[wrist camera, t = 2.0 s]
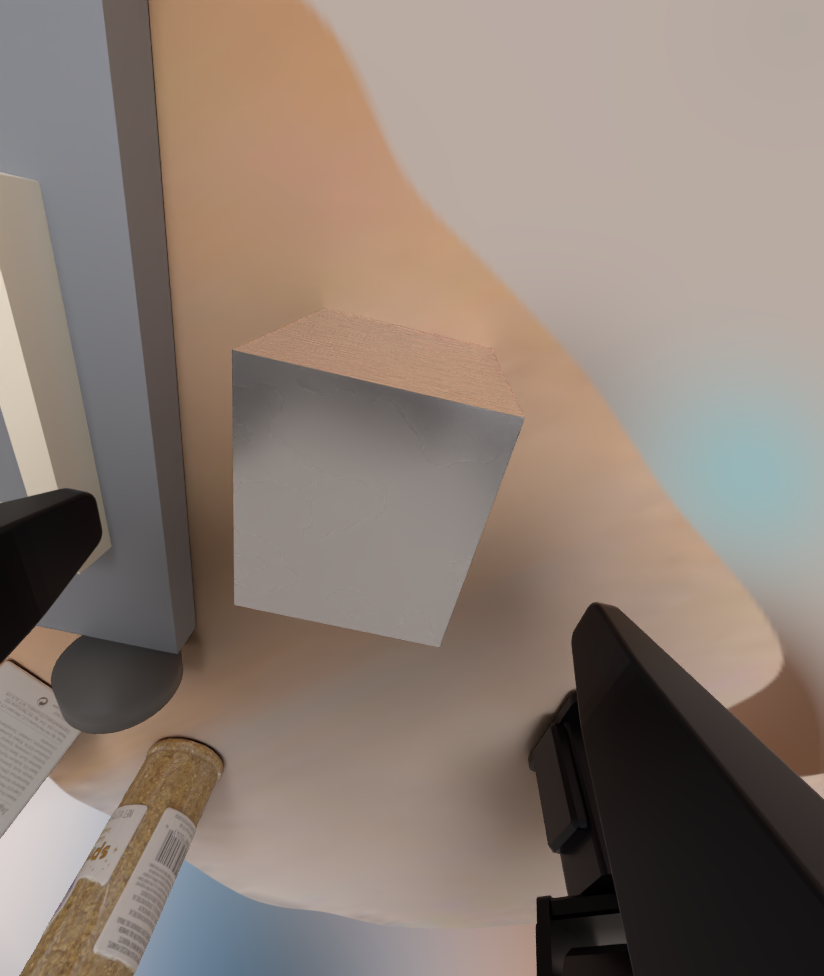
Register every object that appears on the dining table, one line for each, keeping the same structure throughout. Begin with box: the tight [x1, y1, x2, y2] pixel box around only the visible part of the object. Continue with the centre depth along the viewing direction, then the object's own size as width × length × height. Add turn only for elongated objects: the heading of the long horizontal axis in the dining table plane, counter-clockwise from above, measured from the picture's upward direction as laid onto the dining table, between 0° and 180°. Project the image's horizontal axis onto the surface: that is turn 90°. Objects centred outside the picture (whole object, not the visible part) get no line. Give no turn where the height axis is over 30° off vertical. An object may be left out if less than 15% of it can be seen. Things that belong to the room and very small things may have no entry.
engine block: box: [232, 308, 525, 647], centre depth 11 cm, size 5×6×6 cm
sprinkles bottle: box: [19, 738, 223, 976], centre depth 19 cm, size 5×5×13 cm
